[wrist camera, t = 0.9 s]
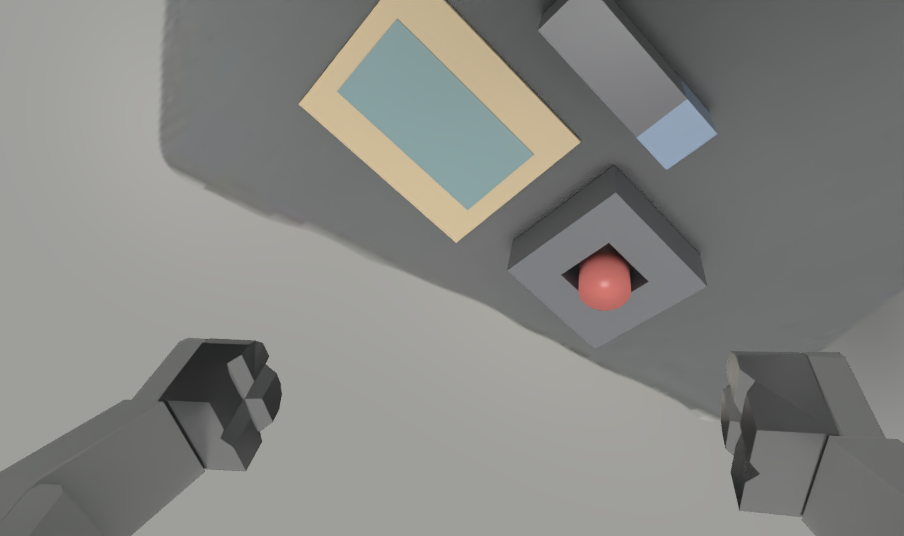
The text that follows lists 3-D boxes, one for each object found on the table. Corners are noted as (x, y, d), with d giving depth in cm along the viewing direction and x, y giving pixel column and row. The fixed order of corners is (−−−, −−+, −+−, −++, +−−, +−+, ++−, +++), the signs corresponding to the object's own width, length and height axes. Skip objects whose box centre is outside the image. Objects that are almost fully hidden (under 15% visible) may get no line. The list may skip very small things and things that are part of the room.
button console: (614, 164, 42) (615, 192, 39) (699, 254, 45) (707, 286, 42) (513, 240, 48) (507, 270, 45) (594, 316, 51) (594, 348, 47)
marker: (542, 14, 37) (537, 30, 35) (587, -31, 35) (586, -18, 33) (661, 146, 41) (666, 169, 38) (708, 111, 39) (717, 133, 36)
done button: (607, 233, 43) (608, 261, 41) (639, 264, 44) (641, 294, 42) (569, 259, 45) (567, 288, 43) (600, 288, 46) (600, 318, 44)
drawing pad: (410, -37, 37) (408, -36, 37) (580, 140, 42) (580, 142, 41) (300, 102, 44) (298, 104, 44) (456, 240, 49) (455, 243, 48)
